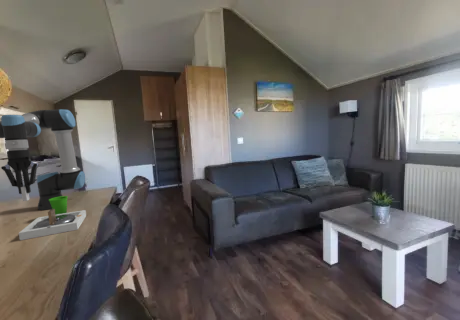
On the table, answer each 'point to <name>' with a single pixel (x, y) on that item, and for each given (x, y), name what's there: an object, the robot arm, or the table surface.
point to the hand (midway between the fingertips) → (26, 200)
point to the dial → (55, 219)
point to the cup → (59, 204)
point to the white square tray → (33, 232)
